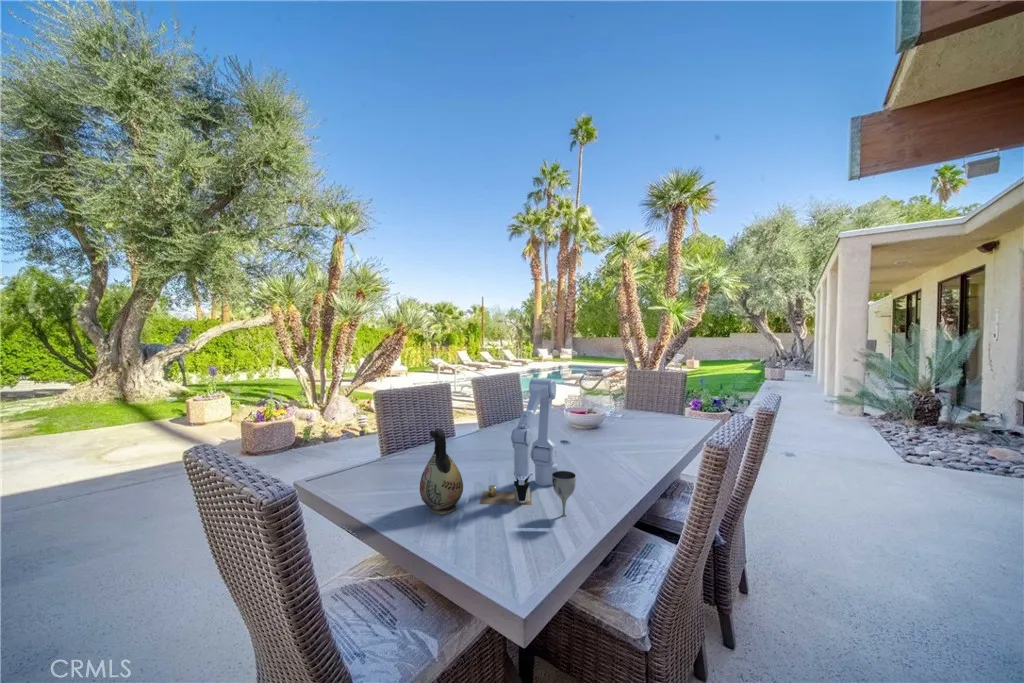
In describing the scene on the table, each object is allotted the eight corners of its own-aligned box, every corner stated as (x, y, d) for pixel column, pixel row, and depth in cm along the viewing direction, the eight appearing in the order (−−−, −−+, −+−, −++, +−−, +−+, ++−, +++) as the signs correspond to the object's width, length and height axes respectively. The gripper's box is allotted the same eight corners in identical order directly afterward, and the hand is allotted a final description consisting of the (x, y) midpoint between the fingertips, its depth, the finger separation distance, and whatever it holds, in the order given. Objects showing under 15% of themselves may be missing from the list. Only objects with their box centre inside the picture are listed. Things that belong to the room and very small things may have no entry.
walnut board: (531, 494, 156) (531, 491, 156) (531, 507, 144) (531, 504, 144) (483, 493, 157) (483, 490, 157) (479, 506, 145) (479, 504, 145)
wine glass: (570, 526, 130) (569, 480, 130) (548, 520, 135) (547, 476, 134) (579, 516, 137) (579, 473, 137) (558, 511, 141) (558, 469, 141)
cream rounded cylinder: (496, 494, 154) (496, 485, 154) (495, 497, 151) (495, 488, 151) (488, 494, 154) (488, 485, 154) (488, 497, 151) (487, 488, 151)
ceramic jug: (416, 504, 148) (415, 423, 147) (457, 497, 154) (456, 420, 153) (424, 524, 132) (423, 434, 132) (469, 516, 138) (468, 430, 137)
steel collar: (529, 497, 151) (529, 484, 151) (529, 503, 145) (529, 490, 145) (515, 497, 151) (514, 483, 151) (514, 503, 146) (514, 489, 145)
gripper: (532, 467, 140) (533, 505, 141) (532, 454, 155) (533, 489, 155) (512, 467, 141) (513, 505, 141) (514, 454, 155) (514, 489, 156)
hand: (522, 497), depth 148 cm, fingers closed on steel collar, 6 cm apart
